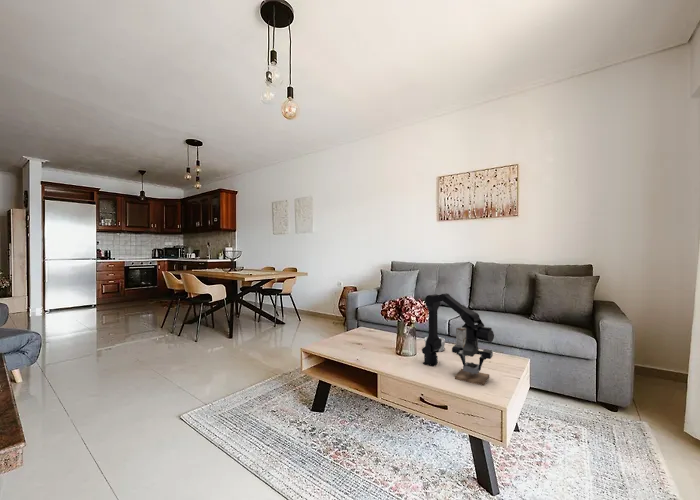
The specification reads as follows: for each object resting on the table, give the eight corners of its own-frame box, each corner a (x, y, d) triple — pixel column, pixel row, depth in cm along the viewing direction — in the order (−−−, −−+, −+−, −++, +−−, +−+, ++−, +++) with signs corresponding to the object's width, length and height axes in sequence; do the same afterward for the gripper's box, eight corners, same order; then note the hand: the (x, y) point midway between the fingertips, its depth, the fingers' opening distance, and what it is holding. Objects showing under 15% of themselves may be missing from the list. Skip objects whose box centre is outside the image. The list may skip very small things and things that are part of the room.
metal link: (462, 370, 161) (462, 366, 161) (466, 366, 167) (466, 362, 167) (477, 374, 157) (477, 369, 157) (480, 369, 163) (480, 364, 163)
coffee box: (467, 351, 203) (467, 326, 203) (474, 354, 198) (474, 328, 198) (456, 353, 200) (455, 328, 200) (463, 356, 194) (463, 330, 194)
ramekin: (441, 354, 199) (441, 343, 199) (421, 350, 206) (421, 340, 206) (447, 348, 210) (447, 338, 210) (428, 345, 217) (428, 335, 217)
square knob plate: (454, 379, 161) (454, 363, 161) (461, 371, 171) (461, 356, 171) (484, 385, 153) (484, 369, 153) (489, 377, 163) (489, 361, 163)
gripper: (448, 338, 160) (448, 369, 160) (488, 344, 150) (488, 377, 150) (455, 333, 170) (455, 362, 170) (492, 339, 159) (493, 370, 159)
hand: (472, 368), depth 162 cm, fingers closed on metal link, 7 cm apart
